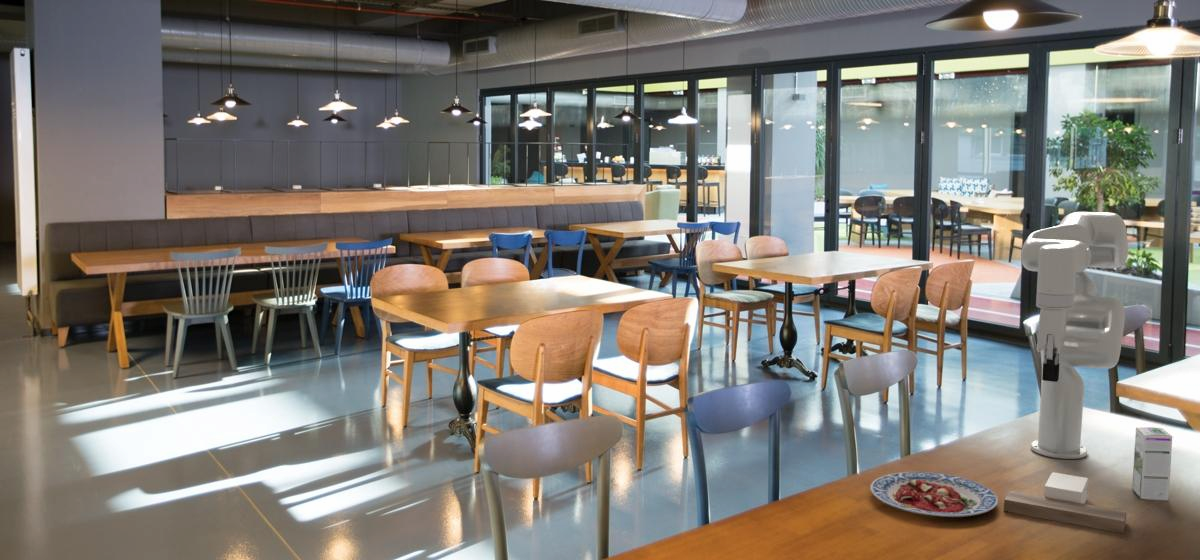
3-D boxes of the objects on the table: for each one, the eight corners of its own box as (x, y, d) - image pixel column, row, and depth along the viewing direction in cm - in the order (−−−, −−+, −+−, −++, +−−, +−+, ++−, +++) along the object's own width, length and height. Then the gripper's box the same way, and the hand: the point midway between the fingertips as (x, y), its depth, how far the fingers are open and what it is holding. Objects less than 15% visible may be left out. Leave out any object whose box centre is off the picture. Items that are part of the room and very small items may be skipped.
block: (1050, 494, 210) (1052, 472, 210) (1086, 500, 207) (1087, 478, 206) (1043, 508, 202) (1044, 485, 201) (1080, 515, 198) (1081, 492, 198)
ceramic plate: (848, 503, 206) (848, 490, 205) (903, 472, 224) (903, 460, 224) (967, 536, 188) (967, 522, 188) (1016, 500, 207) (1016, 487, 206)
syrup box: (1169, 501, 205) (1174, 435, 203) (1139, 499, 206) (1144, 434, 204) (1159, 491, 211) (1164, 427, 209) (1130, 489, 212) (1135, 426, 210)
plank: (1009, 501, 205) (1009, 490, 205) (1125, 523, 193) (1126, 511, 193) (1003, 510, 200) (1004, 499, 200) (1123, 533, 188) (1124, 521, 188)
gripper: (1040, 293, 221) (1036, 370, 225) (1032, 305, 209) (1027, 386, 212) (1076, 295, 218) (1071, 374, 221) (1070, 308, 205) (1065, 391, 208)
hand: (1050, 380), depth 216 cm, fingers closed
